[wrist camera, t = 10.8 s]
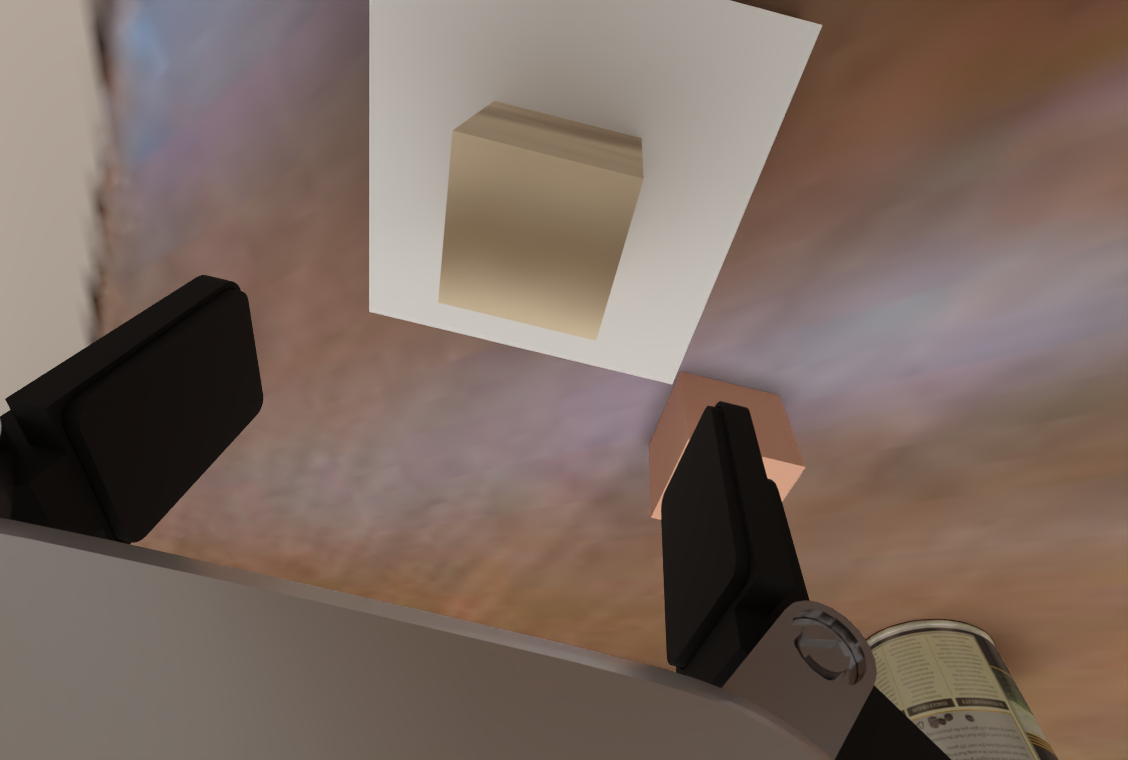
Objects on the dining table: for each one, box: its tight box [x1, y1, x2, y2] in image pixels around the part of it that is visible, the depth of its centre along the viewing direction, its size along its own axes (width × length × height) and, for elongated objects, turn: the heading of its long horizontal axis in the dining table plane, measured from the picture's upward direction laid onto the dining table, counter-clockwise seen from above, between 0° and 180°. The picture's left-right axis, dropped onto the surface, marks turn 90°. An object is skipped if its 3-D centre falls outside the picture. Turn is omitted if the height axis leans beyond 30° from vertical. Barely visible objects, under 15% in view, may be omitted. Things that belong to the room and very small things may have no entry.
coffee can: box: [866, 620, 1058, 760], centre depth 39 cm, size 10×10×14 cm
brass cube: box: [438, 101, 644, 341], centre depth 21 cm, size 6×6×6 cm
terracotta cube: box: [649, 372, 806, 520], centre depth 31 cm, size 6×6×6 cm
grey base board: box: [369, 0, 822, 384], centre depth 24 cm, size 16×16×3 cm
